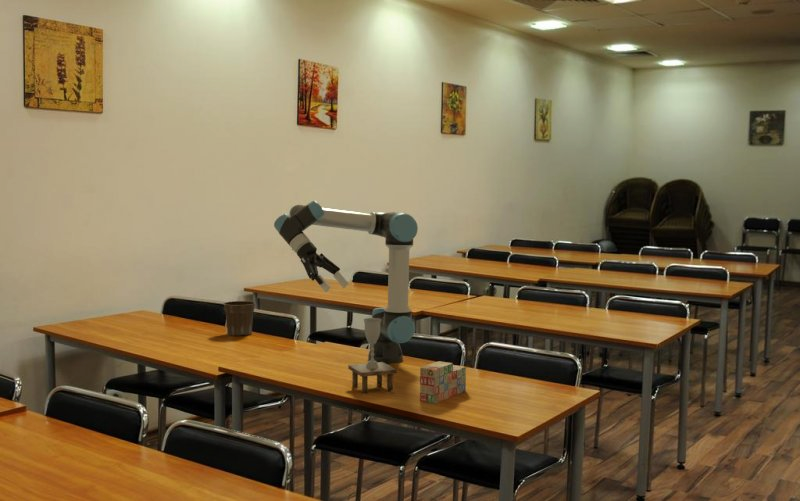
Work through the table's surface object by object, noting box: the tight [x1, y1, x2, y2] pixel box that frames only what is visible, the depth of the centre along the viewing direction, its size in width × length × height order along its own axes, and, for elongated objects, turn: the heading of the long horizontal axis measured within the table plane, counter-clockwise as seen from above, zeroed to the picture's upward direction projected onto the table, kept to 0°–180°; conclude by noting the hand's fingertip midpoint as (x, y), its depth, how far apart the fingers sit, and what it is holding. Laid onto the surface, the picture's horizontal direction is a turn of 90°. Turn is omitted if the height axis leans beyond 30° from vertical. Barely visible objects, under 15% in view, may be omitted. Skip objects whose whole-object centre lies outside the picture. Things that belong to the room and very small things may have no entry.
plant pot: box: [223, 300, 256, 337], centre depth 409 cm, size 16×16×16 cm
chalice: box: [363, 317, 382, 369], centre depth 299 cm, size 7×7×18 cm
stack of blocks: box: [419, 360, 467, 404], centre depth 290 cm, size 21×6×12 cm, turn 144°
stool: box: [347, 362, 398, 394], centre depth 300 cm, size 14×14×8 cm
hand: (337, 287), depth 308 cm, fingers open, 13 cm apart
